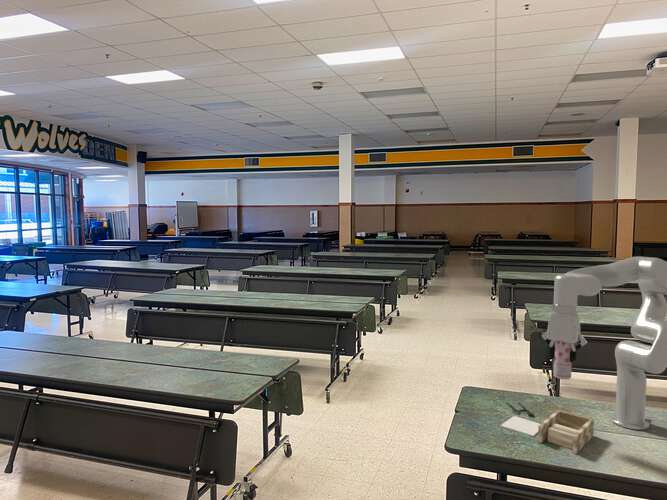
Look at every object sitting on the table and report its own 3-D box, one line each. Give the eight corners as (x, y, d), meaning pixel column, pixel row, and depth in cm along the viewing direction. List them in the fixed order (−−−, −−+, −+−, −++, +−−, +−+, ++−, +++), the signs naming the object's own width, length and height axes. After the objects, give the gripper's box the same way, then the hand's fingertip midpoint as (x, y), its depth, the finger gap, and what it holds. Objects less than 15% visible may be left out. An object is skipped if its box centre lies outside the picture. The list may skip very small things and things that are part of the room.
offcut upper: (554, 430, 169) (554, 423, 168) (578, 437, 163) (578, 430, 163) (547, 435, 164) (548, 428, 164) (572, 443, 159) (572, 435, 159)
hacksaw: (535, 418, 185) (535, 414, 185) (509, 418, 184) (509, 414, 184) (511, 395, 209) (511, 392, 209) (488, 395, 209) (488, 392, 208)
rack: (557, 425, 177) (557, 409, 177) (593, 435, 169) (593, 419, 168) (537, 442, 164) (538, 425, 163) (576, 454, 155) (576, 436, 155)
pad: (513, 417, 185) (513, 415, 185) (545, 426, 176) (545, 425, 176) (500, 426, 176) (500, 425, 176) (532, 436, 168) (533, 435, 168)
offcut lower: (553, 436, 169) (554, 430, 169) (577, 444, 163) (578, 437, 163) (547, 442, 164) (547, 435, 164) (572, 450, 159) (572, 443, 159)
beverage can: (550, 376, 169) (552, 335, 168) (557, 373, 173) (558, 333, 172) (567, 380, 165) (569, 338, 164) (573, 377, 169) (575, 336, 168)
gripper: (536, 307, 170) (534, 356, 171) (588, 314, 159) (586, 367, 160) (543, 305, 176) (541, 352, 177) (594, 311, 164) (592, 362, 165)
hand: (562, 359), depth 168 cm, fingers closed on beverage can, 5 cm apart
